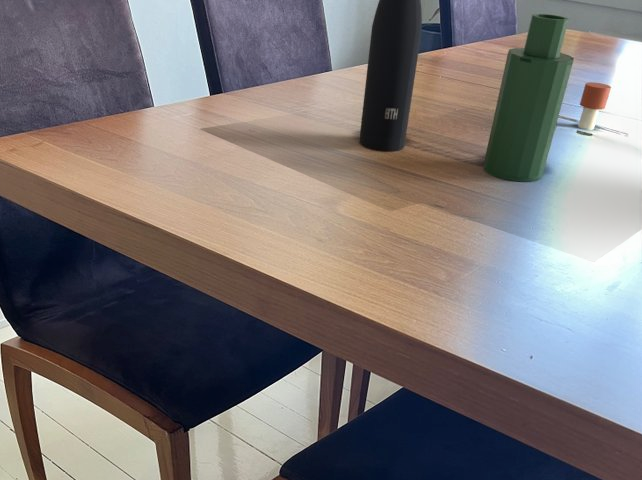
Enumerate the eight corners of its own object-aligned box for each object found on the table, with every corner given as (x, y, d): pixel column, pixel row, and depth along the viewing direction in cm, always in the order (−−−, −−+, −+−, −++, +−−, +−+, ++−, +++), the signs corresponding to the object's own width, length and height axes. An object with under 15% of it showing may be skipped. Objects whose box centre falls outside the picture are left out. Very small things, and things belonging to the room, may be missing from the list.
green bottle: (552, 173, 98) (594, 20, 87) (525, 186, 93) (567, 24, 82) (500, 158, 102) (535, 9, 90) (472, 169, 97) (505, 13, 86)
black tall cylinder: (380, 135, 106) (414, -127, 88) (413, 147, 103) (456, -123, 84) (349, 141, 103) (377, -130, 84) (382, 154, 99) (420, -127, 81)
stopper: (600, 134, 116) (615, 86, 112) (590, 138, 114) (605, 89, 109) (577, 128, 118) (591, 81, 114) (568, 132, 115) (581, 84, 111)
